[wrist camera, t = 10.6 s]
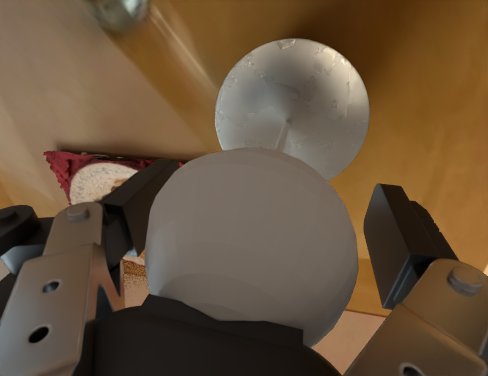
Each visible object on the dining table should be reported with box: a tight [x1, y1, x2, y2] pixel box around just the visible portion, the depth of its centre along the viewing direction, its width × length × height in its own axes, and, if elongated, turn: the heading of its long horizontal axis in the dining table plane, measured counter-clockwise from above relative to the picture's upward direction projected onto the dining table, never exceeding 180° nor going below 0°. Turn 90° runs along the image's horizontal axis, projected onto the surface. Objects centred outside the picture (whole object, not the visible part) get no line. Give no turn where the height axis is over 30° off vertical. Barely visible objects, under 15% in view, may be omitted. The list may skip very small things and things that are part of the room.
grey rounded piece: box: [215, 38, 370, 181], centre depth 22 cm, size 11×11×12 cm
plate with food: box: [43, 151, 185, 267], centre depth 42 cm, size 24×26×3 cm
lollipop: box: [144, 122, 358, 348], centre depth 11 cm, size 6×6×15 cm
